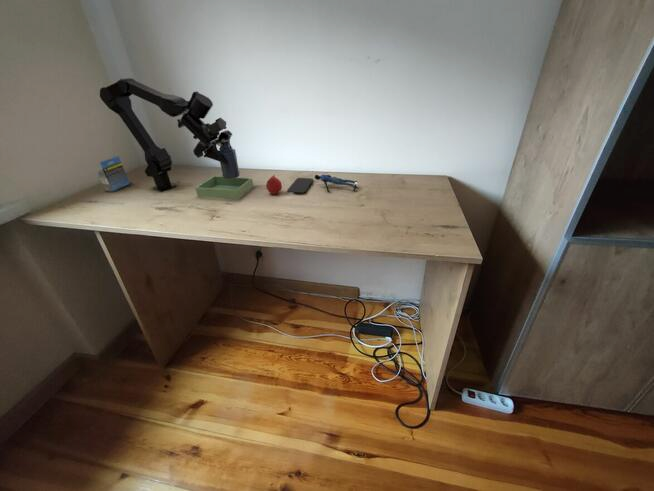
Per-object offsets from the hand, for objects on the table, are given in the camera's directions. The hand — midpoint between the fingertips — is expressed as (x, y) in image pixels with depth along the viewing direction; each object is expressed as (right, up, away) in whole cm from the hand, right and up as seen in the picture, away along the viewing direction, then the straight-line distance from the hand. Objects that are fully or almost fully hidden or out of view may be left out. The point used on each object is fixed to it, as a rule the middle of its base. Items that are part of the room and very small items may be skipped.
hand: (231, 160), depth 110 cm
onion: (+15, -12, +6) cm, 20 cm away
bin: (-5, -10, +8) cm, 14 cm away
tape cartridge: (-53, -7, +16) cm, 56 cm away
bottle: (-1, -5, +4) cm, 6 cm away
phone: (+25, -7, +12) cm, 28 cm away
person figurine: (+39, -8, +10) cm, 41 cm away
